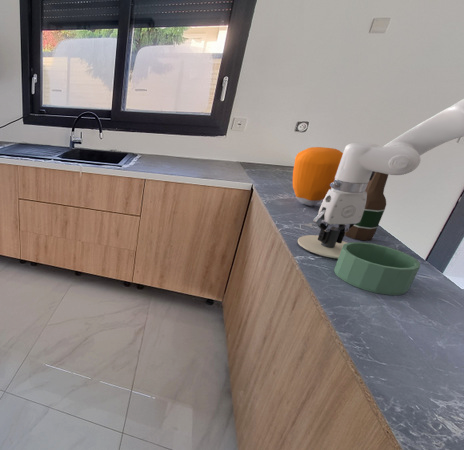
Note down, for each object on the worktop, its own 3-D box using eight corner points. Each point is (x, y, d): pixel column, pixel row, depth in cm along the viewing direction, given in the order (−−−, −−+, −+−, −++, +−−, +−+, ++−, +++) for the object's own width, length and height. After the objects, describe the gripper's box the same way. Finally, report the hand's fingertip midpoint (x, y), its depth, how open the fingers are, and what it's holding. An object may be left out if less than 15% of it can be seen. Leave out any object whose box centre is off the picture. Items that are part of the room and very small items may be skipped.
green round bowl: (371, 264, 90) (381, 241, 87) (424, 294, 77) (438, 268, 74) (321, 265, 91) (329, 242, 88) (365, 295, 77) (376, 269, 74)
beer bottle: (345, 229, 112) (370, 164, 103) (374, 236, 107) (403, 167, 97) (339, 235, 108) (364, 167, 98) (369, 243, 102) (398, 172, 93)
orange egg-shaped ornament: (278, 197, 147) (293, 143, 137) (321, 200, 142) (339, 144, 132) (290, 209, 132) (307, 150, 122) (338, 213, 127) (360, 151, 117)
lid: (331, 237, 107) (338, 218, 104) (373, 260, 92) (382, 238, 90) (286, 238, 107) (291, 219, 104) (320, 261, 93) (327, 239, 90)
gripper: (330, 190, 88) (311, 247, 95) (389, 189, 88) (365, 246, 95) (311, 183, 95) (294, 237, 102) (366, 182, 95) (345, 236, 102)
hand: (329, 241), depth 99 cm, fingers open, 3 cm apart
